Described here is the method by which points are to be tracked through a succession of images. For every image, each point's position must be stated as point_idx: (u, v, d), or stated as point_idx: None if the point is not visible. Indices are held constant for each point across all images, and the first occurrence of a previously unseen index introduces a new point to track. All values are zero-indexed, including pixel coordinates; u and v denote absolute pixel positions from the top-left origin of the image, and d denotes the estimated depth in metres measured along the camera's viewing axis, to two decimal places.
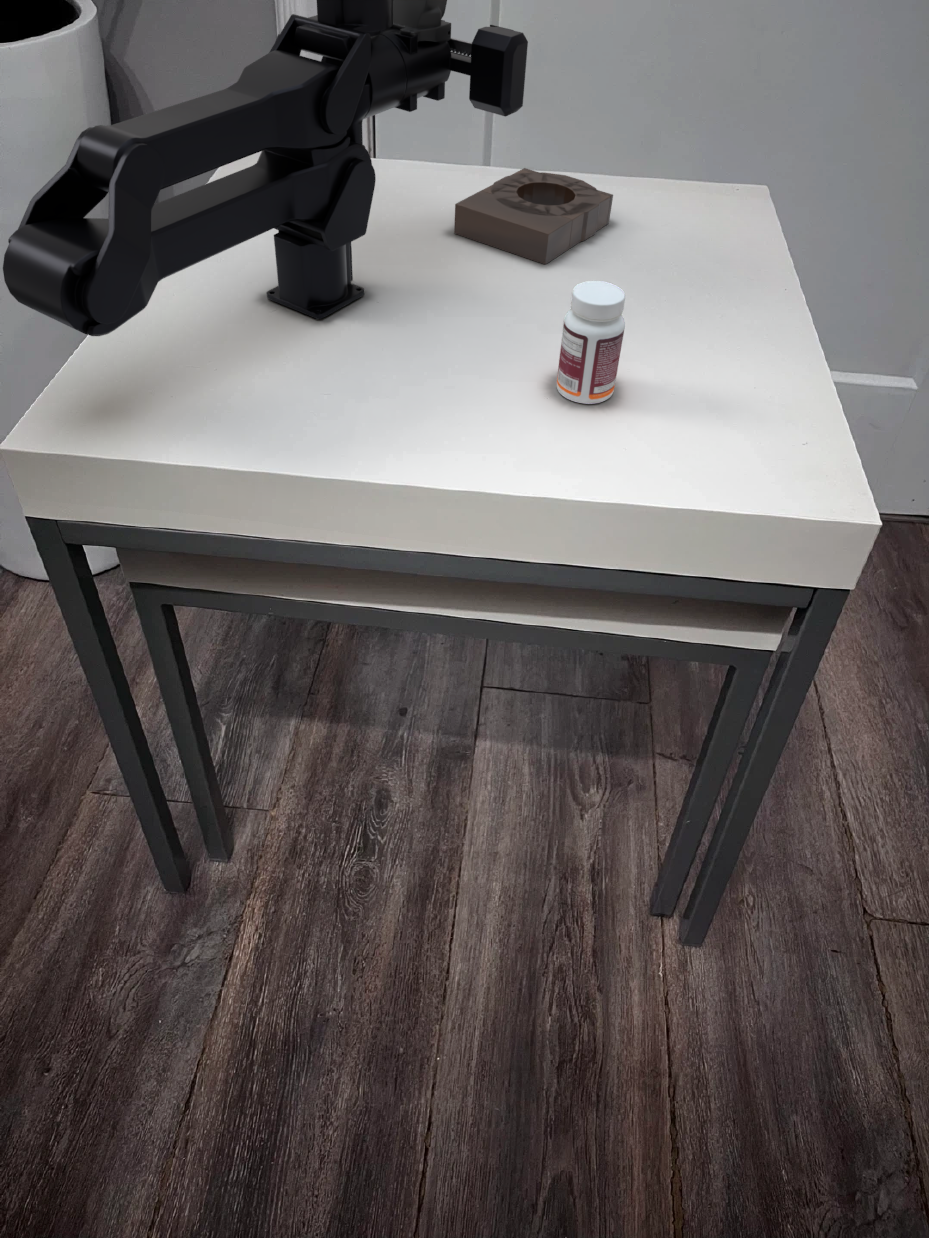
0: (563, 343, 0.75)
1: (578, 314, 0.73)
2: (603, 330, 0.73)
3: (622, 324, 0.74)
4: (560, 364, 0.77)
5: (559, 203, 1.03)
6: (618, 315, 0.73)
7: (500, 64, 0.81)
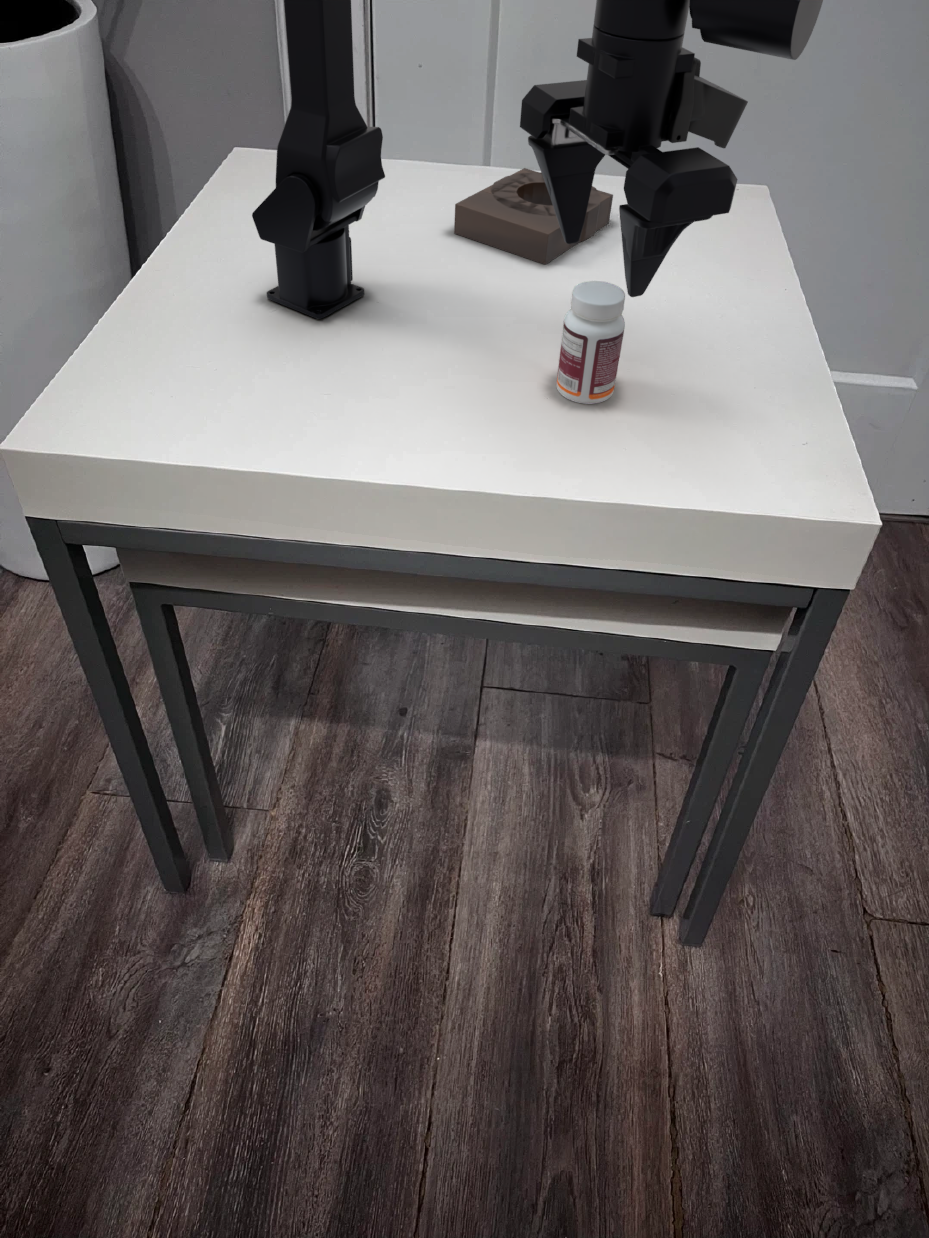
0: (563, 343, 0.75)
1: (578, 314, 0.73)
2: (603, 330, 0.73)
3: (622, 324, 0.74)
4: (560, 364, 0.77)
5: None
6: (618, 315, 0.73)
7: (712, 166, 0.60)
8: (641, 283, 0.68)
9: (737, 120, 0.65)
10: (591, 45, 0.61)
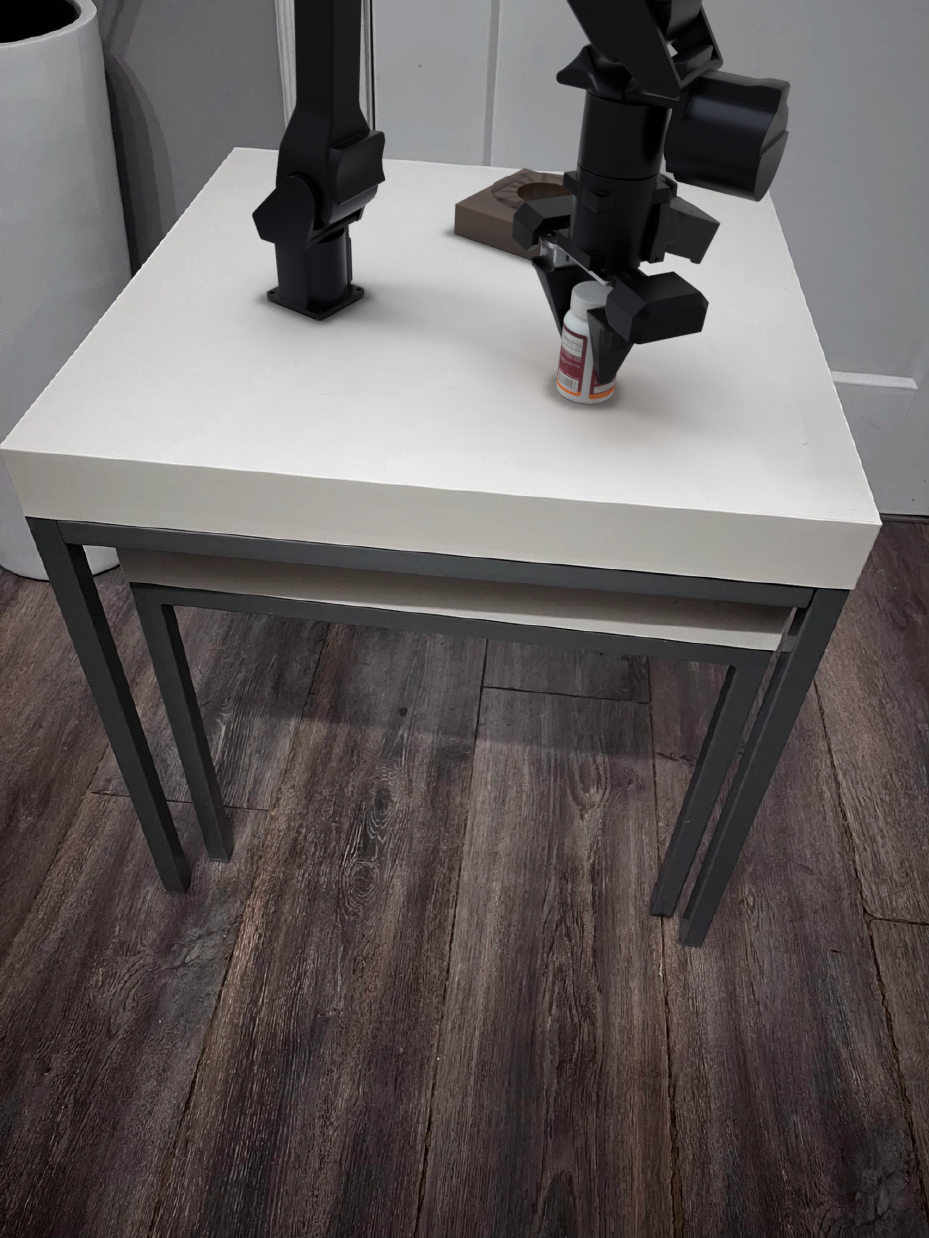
0: (563, 343, 0.75)
1: (578, 314, 0.73)
2: None
3: None
4: (560, 364, 0.77)
5: None
6: None
7: (685, 292, 0.65)
8: (608, 373, 0.75)
9: (710, 240, 0.71)
10: (575, 179, 0.67)
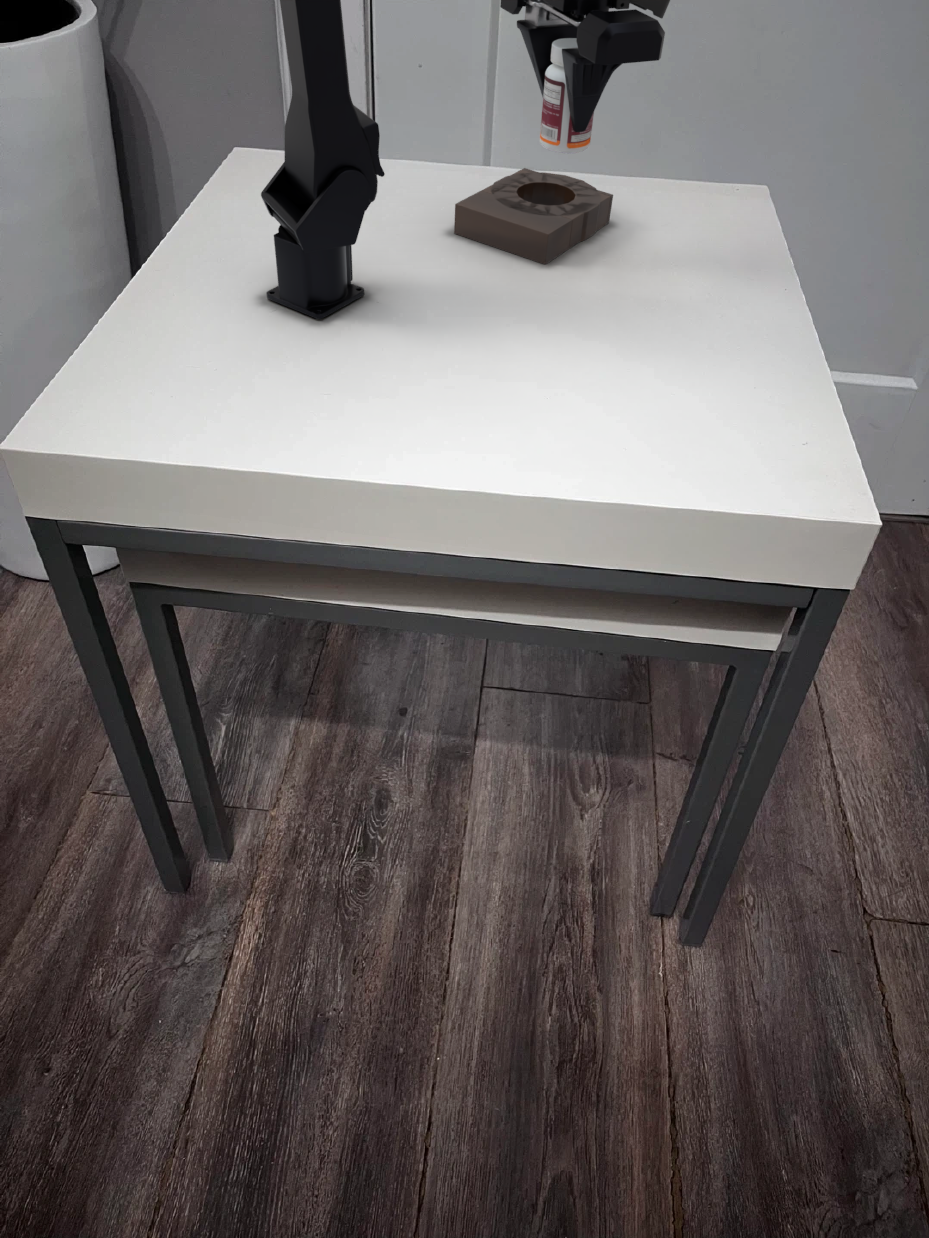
0: (544, 95, 0.86)
1: (556, 63, 0.84)
2: None
3: None
4: (542, 117, 0.88)
5: (559, 203, 1.03)
6: None
7: (644, 20, 0.76)
8: (583, 120, 0.86)
9: None
10: None
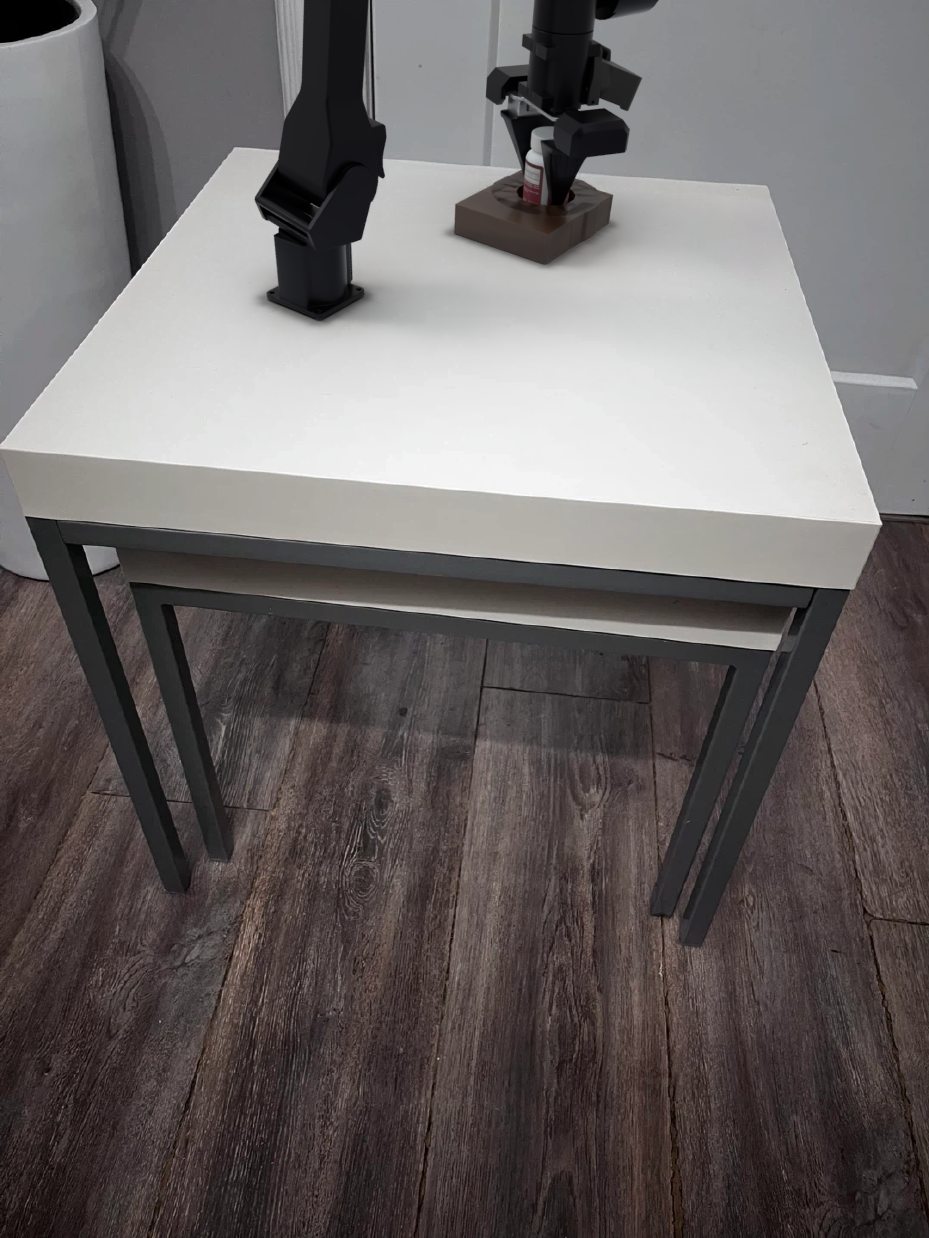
0: (525, 176, 0.98)
1: (536, 149, 0.96)
2: None
3: None
4: (524, 194, 0.99)
5: None
6: None
7: (611, 120, 0.88)
8: (559, 198, 0.97)
9: (635, 91, 0.94)
10: (530, 38, 0.90)
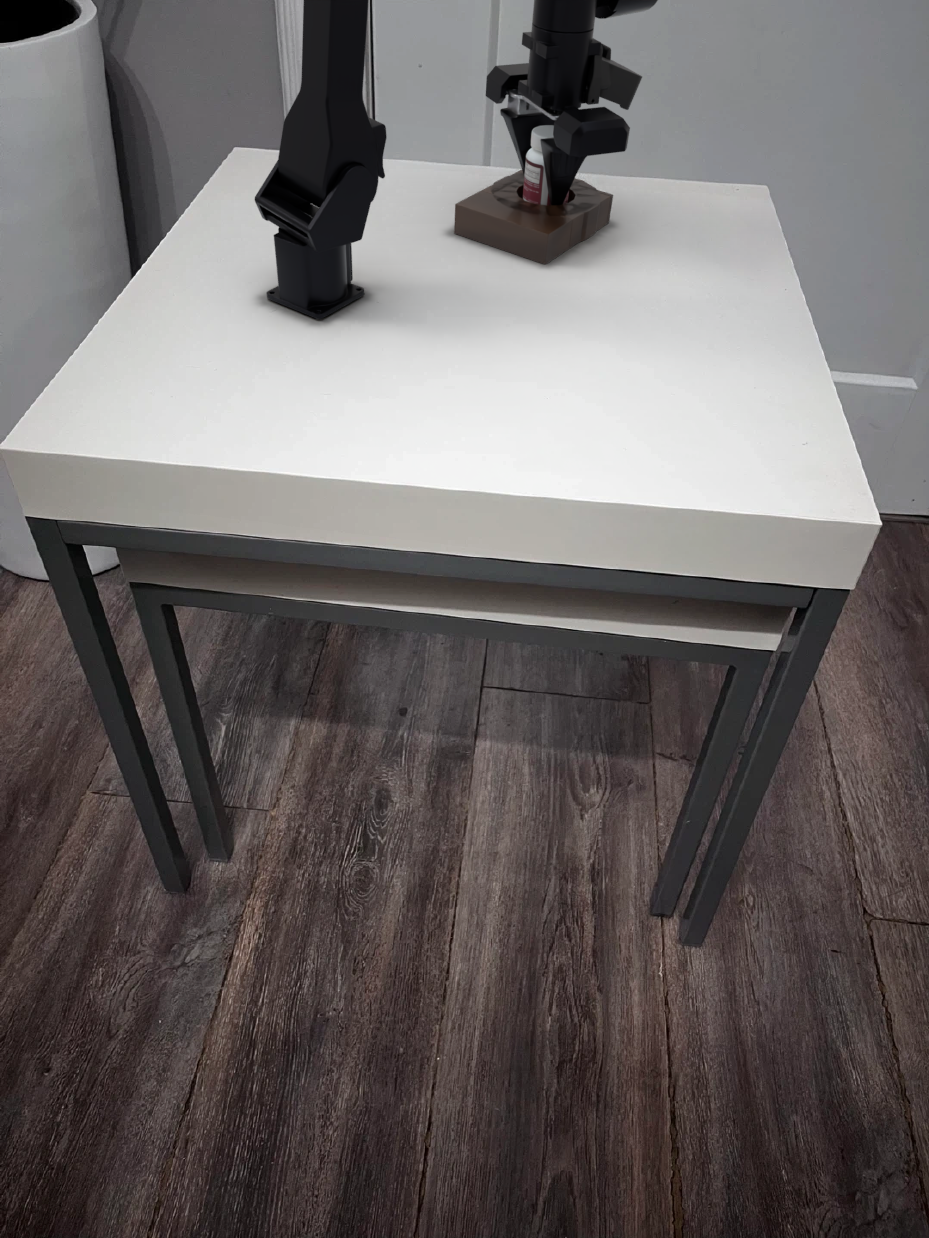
0: (525, 174, 0.98)
1: (536, 148, 0.96)
2: None
3: None
4: (524, 193, 0.99)
5: None
6: None
7: (611, 118, 0.88)
8: (559, 197, 0.97)
9: (635, 89, 0.94)
10: (530, 36, 0.89)
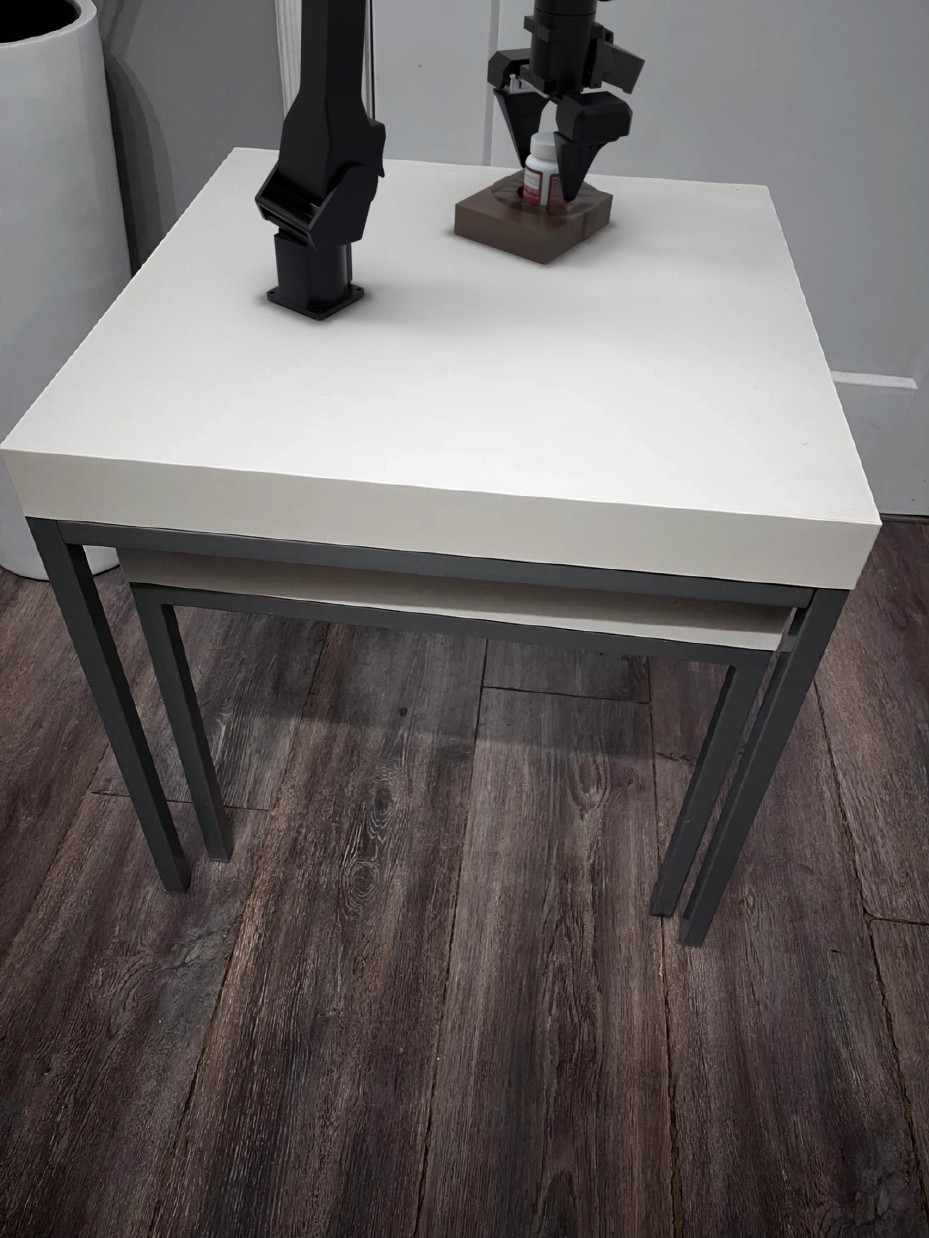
0: (525, 180, 0.98)
1: (535, 154, 0.96)
2: (554, 166, 0.96)
3: None
4: (523, 199, 1.00)
5: None
6: None
7: (614, 102, 0.87)
8: (572, 191, 0.95)
9: (638, 74, 0.93)
10: (532, 20, 0.89)
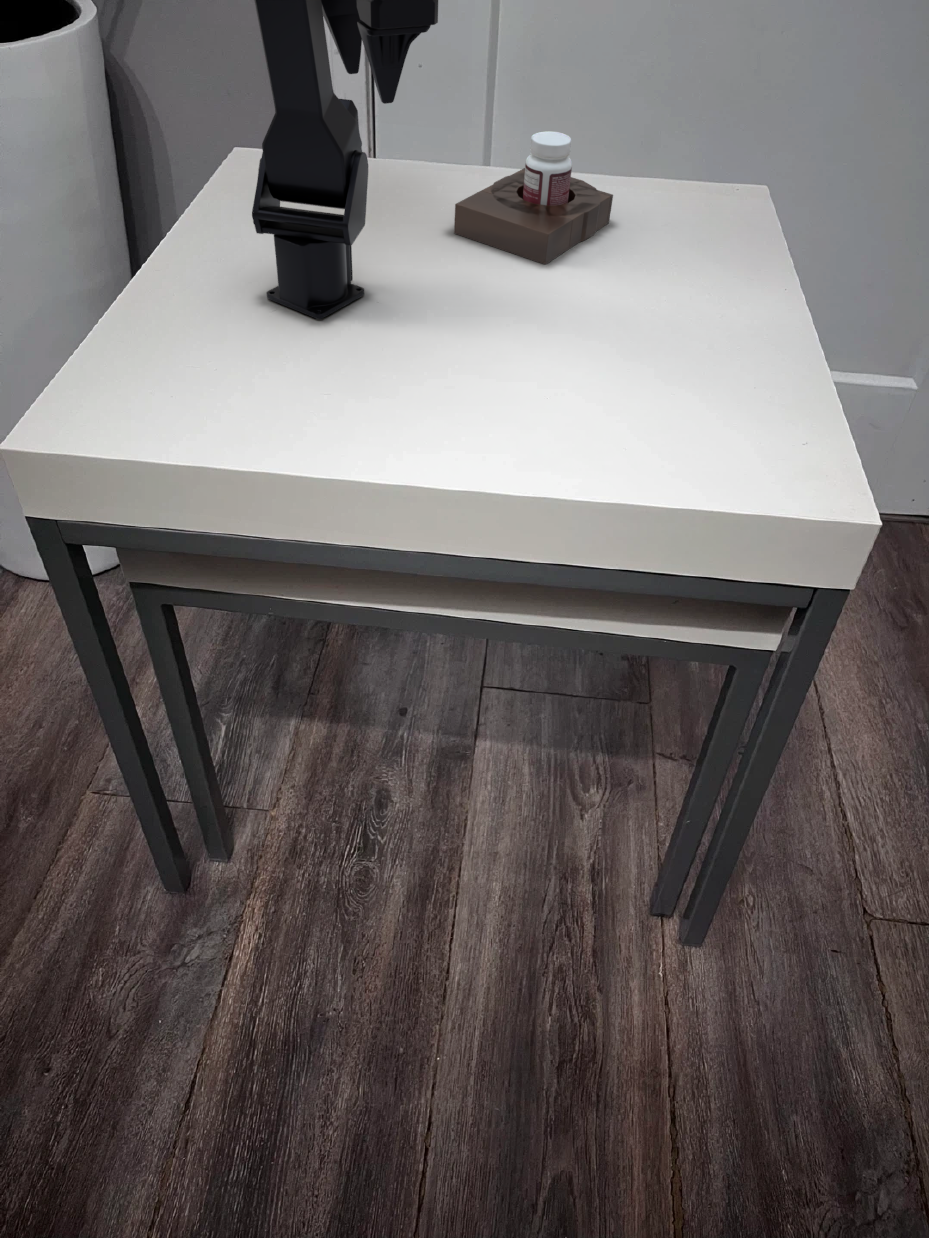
0: (525, 180, 0.98)
1: (535, 154, 0.96)
2: (554, 166, 0.96)
3: (569, 164, 0.97)
4: (523, 199, 1.00)
5: None
6: (566, 155, 0.96)
7: None
8: (388, 91, 0.89)
9: None
10: None
